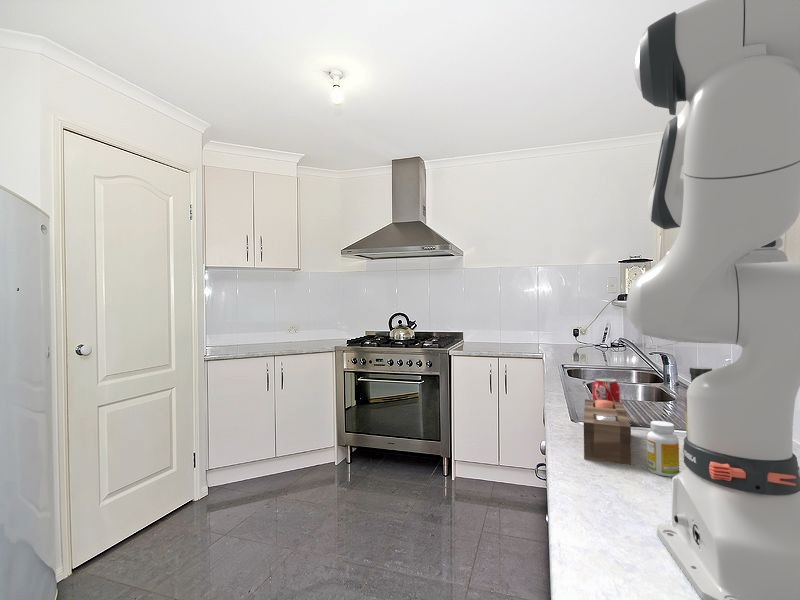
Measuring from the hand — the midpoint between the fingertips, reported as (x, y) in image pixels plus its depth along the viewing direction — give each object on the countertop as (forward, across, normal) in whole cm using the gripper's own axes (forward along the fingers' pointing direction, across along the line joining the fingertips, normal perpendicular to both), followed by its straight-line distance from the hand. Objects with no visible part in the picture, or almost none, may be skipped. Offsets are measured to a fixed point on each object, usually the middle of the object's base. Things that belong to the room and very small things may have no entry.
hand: (725, 309), depth 86 cm
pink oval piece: (+30, -23, +10) cm, 39 cm away
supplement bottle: (+33, -13, -9) cm, 36 cm away
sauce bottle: (+33, -4, +2) cm, 33 cm away
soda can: (+32, -21, +27) cm, 47 cm away
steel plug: (+31, -23, -2) cm, 39 cm away
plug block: (+32, -23, +4) cm, 40 cm away
